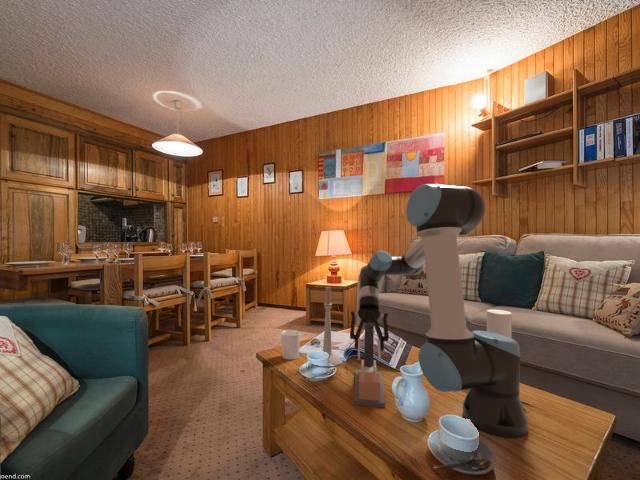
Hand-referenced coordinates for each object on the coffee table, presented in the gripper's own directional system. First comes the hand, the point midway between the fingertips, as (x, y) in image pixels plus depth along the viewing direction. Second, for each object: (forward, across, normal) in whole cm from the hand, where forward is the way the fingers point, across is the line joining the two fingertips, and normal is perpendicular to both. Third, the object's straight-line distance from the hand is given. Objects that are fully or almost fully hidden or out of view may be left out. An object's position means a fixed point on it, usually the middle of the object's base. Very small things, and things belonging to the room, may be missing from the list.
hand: (369, 358), depth 101 cm
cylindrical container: (+2, -43, -11) cm, 45 cm away
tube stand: (+8, 0, -5) cm, 9 cm away
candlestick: (-6, +16, -19) cm, 26 cm away
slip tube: (+4, 0, -6) cm, 7 cm away
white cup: (-7, +32, -20) cm, 38 cm away
